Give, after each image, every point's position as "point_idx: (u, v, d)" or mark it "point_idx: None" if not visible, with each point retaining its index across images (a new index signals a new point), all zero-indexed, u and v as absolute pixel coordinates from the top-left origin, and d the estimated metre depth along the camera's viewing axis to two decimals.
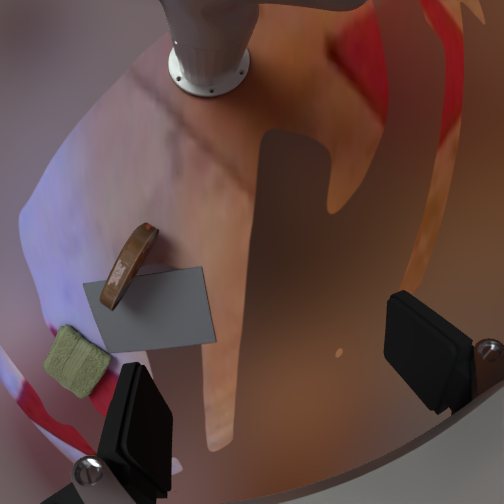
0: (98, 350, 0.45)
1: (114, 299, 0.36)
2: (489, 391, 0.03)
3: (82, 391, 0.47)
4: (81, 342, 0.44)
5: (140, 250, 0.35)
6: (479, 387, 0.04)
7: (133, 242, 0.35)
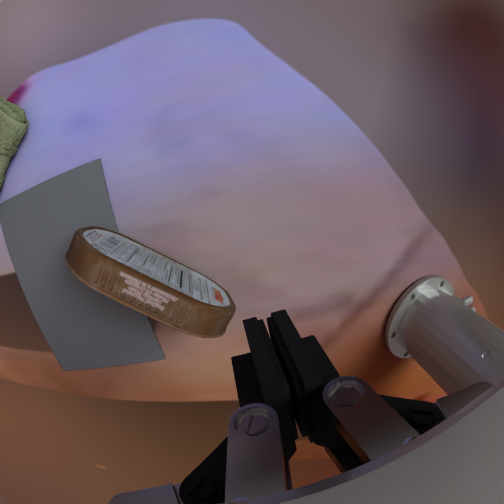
0: None
1: (92, 286, 0.17)
2: (489, 391, 0.03)
3: None
4: (2, 160, 0.18)
5: (200, 334, 0.20)
6: (358, 440, 0.05)
7: (212, 319, 0.20)
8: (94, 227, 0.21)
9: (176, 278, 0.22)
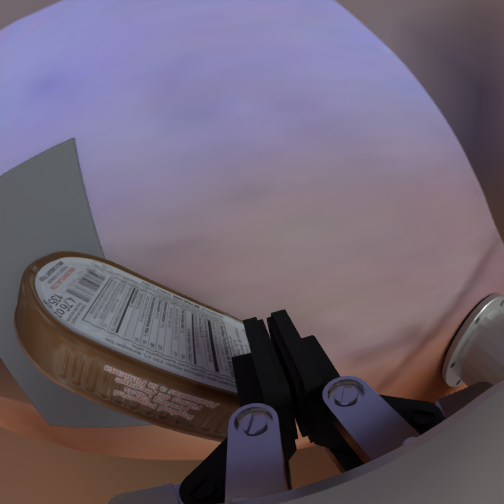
0: None
1: (60, 381, 0.08)
2: (489, 391, 0.03)
3: None
4: None
5: None
6: (358, 440, 0.05)
7: None
8: (60, 255, 0.12)
9: (204, 346, 0.12)
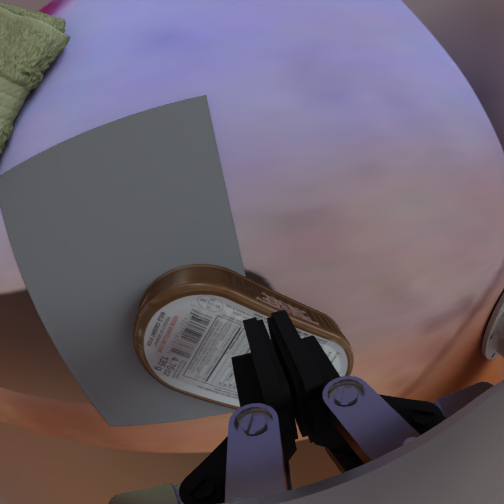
0: None
1: None
2: (489, 391, 0.03)
3: None
4: (13, 94, 0.09)
5: None
6: (358, 440, 0.05)
7: None
8: (160, 304, 0.14)
9: None
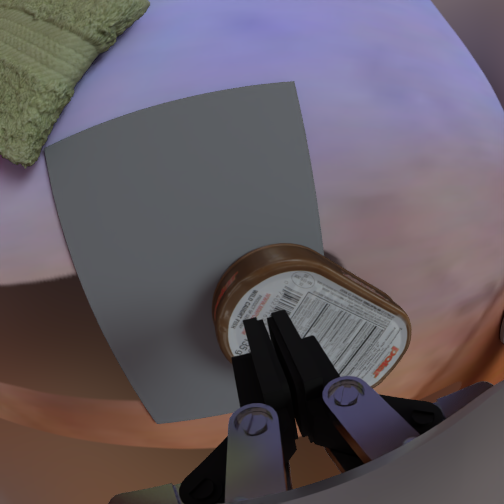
0: (52, 117, 0.10)
1: None
2: (489, 391, 0.03)
3: None
4: (83, 53, 0.09)
5: None
6: (358, 440, 0.05)
7: None
8: (254, 282, 0.14)
9: (347, 357, 0.17)
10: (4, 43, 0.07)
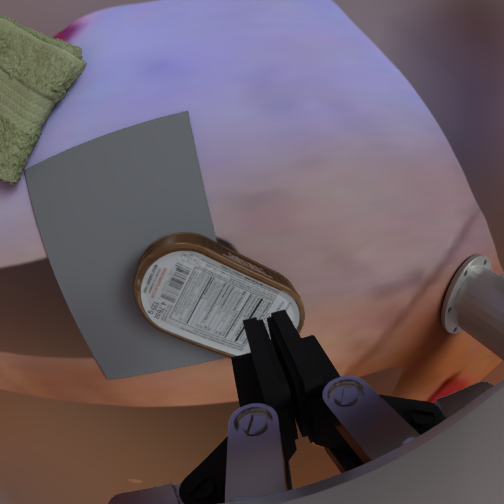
0: (28, 150, 0.15)
1: None
2: (489, 391, 0.03)
3: None
4: (44, 106, 0.14)
5: None
6: (358, 440, 0.05)
7: None
8: (154, 259, 0.19)
9: (240, 323, 0.22)
10: None
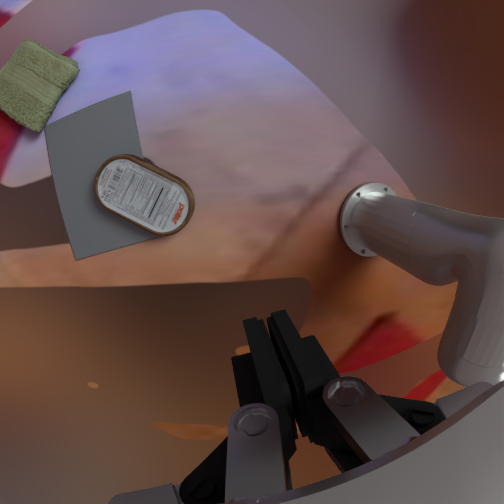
0: (48, 114, 0.29)
1: None
2: (489, 391, 0.03)
3: None
4: (57, 91, 0.28)
5: None
6: (358, 440, 0.05)
7: None
8: (106, 164, 0.32)
9: (151, 204, 0.35)
10: (27, 85, 0.25)
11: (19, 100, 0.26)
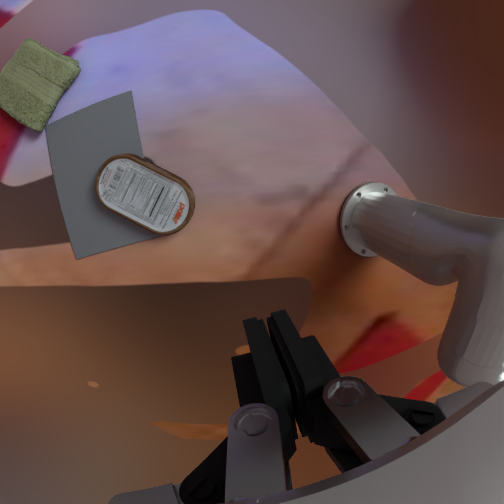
0: (49, 114, 0.29)
1: None
2: (489, 391, 0.03)
3: None
4: (58, 91, 0.28)
5: None
6: (358, 440, 0.05)
7: None
8: (106, 163, 0.32)
9: (151, 204, 0.35)
10: (28, 84, 0.25)
11: (20, 99, 0.26)
